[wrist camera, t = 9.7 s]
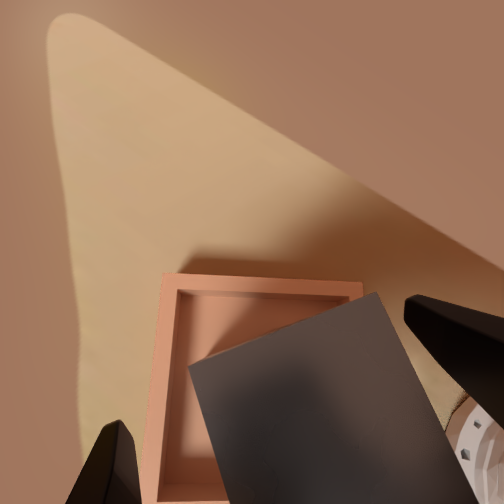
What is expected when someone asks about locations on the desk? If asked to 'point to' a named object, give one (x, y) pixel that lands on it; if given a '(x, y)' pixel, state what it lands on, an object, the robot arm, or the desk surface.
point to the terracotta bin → (198, 347)
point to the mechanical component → (479, 450)
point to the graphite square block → (326, 416)
